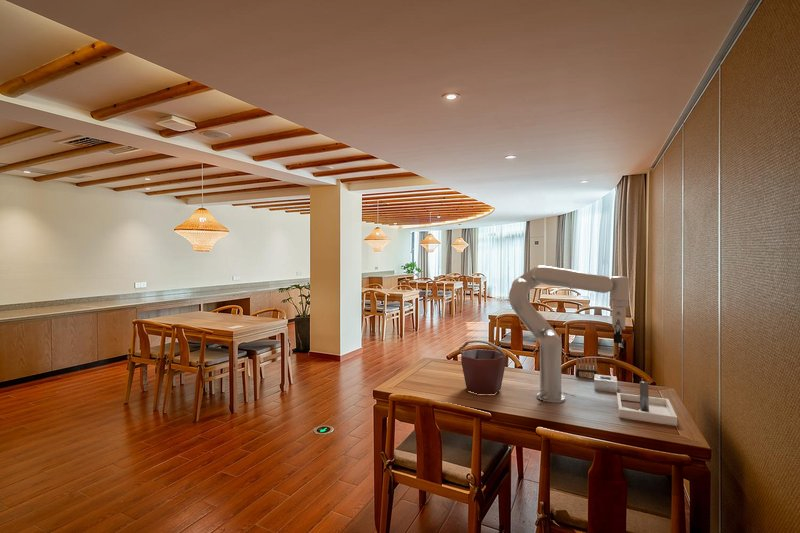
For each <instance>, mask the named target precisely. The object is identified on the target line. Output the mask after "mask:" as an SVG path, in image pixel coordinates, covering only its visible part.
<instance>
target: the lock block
mask: <svg viewBox="0 0 800 533" xmlns="http://www.w3.org/2000/svg"><path fill="white" fill-rule="evenodd" d="M593 374H594V373H593ZM593 379H594V380H593V381H594V384H593V385H594V387H593V388H594V389H593V390H594V391H600V392H601V391H602V392H608V393H609V392H610V393H616V394H617V393H618V378H617V376H613V375H605V374H598V373H597V374H594V378H593Z"/></svg>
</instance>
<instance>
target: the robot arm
mask: <svg viewBox="0 0 800 533" xmlns="http://www.w3.org/2000/svg"><path fill="white" fill-rule="evenodd" d="M541 284H543V285H547V286H548V285H549V286H556V287H561V288H567V289H576V290H582V291H589V292H595V293H601V294H606V293H609V303H608V304H609V307H612V308H611V309H612V310H611V313H612V314H611V318H612V319H611V321H612V322H611V323H612V324H611V325H612V328H613V329H614V330H613V343H614V344H622V343H623V331H624V330H626V314H627V313H626V308H629V298H630V297H629V292H630V289H629V288H630V287H629V286H630V278H629V277H627V276H619V275H618V276H617V275H615V276H614V275H612V276H609V275H608V276H607V275H602V274H599V275H598V274H591V273H586V272H581V271H577V270H574V269H568V268H567V269H566V268H561V267H555V266H549V265H548V266H547V265H543V264H542V265H541V264H540V265H535V266H534V267H533V268H531V269H529V271H527V272H525V273H523V274H522V275H520V276H519V277H517V278H515V279H514V280H513V281H512V283H511V287H510V290H509V292H508V301H509V305H510V306H511V308H512V309H513V312H514V313H515V315H517V317H518V318H519V320H520V321H521V322H522V323H523V325H524V326H525V328H526V330H528V331H529V332H530V333H531V335H533V337H534V338H535V339H536V340H537V341H538V343H539V392H537V394H536V398H537V399H538V400H539V399H540V400H539V401H541V400H543V401H542V402H545V401H546V402H545V403H550V402H552V403H553V404H558V403H559V404H561V403H563V402H565V401H566V396H565V395H563V394H562V350H563V345H562V340H561V337H560V336H559V334H558V333H557V332H556V330H555V329H554V328H553V327H552V326H551V325H550V323H549V322H548V321H547V319H546V318H545V317H544V316H543V315H542V314H541V312H538V311H537V310H536V308H535V307H534V306H533V304H532V303H531V302H530V300H529V297H528V295H529V293H530V291H531V290H534V289H535V288H536V287H538V286H539V285H541ZM622 330H623V331H622Z"/></svg>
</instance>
